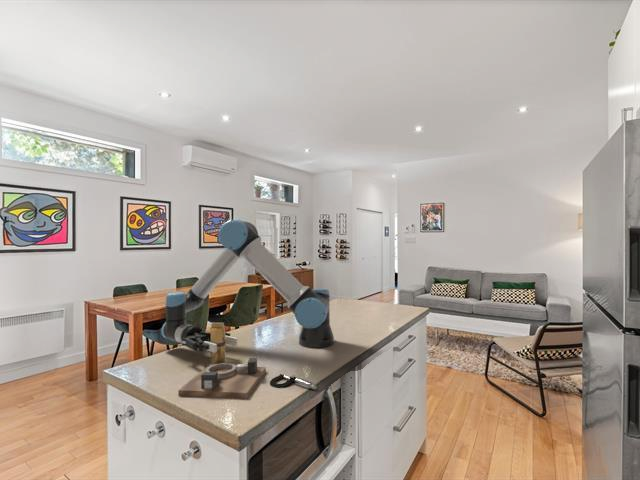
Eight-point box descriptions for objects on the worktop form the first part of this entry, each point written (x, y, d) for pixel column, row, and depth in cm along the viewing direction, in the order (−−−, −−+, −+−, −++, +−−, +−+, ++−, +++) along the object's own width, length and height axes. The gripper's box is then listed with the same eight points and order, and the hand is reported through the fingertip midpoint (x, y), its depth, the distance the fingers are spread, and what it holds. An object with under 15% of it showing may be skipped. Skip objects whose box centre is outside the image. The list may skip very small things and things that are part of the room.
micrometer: (264, 385, 100) (264, 376, 100) (281, 377, 105) (281, 369, 105) (301, 399, 90) (301, 389, 90) (317, 390, 96) (317, 381, 96)
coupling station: (265, 371, 109) (265, 355, 109) (246, 398, 90) (246, 379, 90) (208, 369, 111) (208, 354, 111) (178, 395, 93) (178, 376, 93)
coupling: (228, 361, 119) (227, 321, 119) (222, 367, 114) (221, 325, 114) (214, 361, 120) (213, 321, 120) (207, 366, 114) (207, 324, 114)
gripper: (212, 338, 136) (249, 348, 122) (163, 352, 119) (200, 365, 106) (212, 320, 136) (249, 328, 122) (163, 331, 119) (200, 341, 106)
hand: (226, 345), depth 114 cm, fingers open, 8 cm apart
